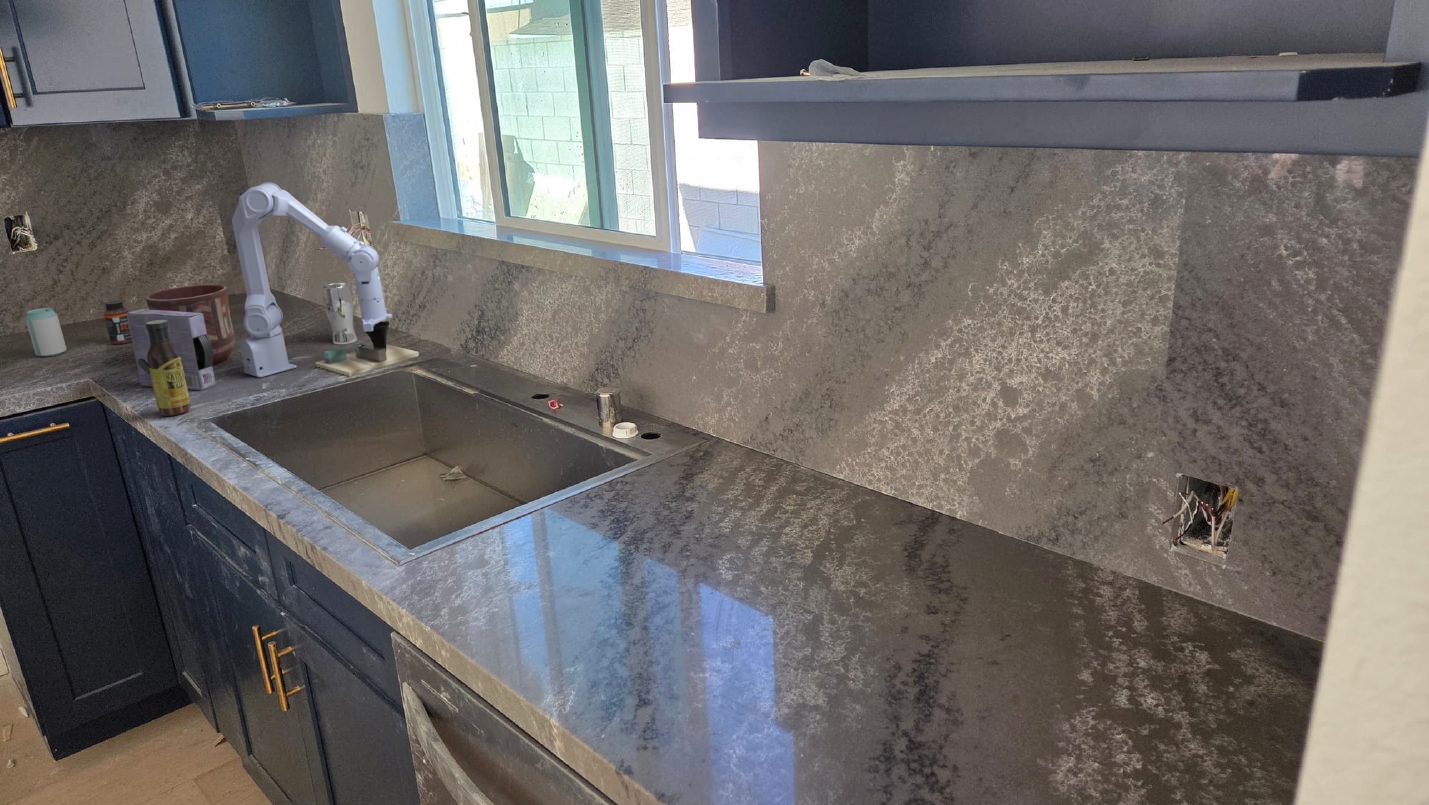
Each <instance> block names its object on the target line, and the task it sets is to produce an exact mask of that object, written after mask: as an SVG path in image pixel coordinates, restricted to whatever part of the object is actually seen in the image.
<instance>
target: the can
mask: <svg viewBox="0 0 1429 805" xmlns="http://www.w3.org/2000/svg"><path fill="white" fill-rule="evenodd" d="M26 314H27V315H26V317H25V322H26V325H27V329H28V333H29V337H30V338H31V339H30V340H31V343H32V346H33V349H34V354H35V355H36V356H37V357H40V356H52V357H56V356H55V355H57V356H59V355H58V354H60V355H62V354H61V353H63V352H64V353H65V352H66V351H67V346H66V342H65V338H64V334H63V331H62V327H61V324H60V321H59V317H58V313H57V312H55V311H54V308H53V307H42V308H35V309H32V310H28V311H27V312H26ZM64 353H63V354H64Z"/></svg>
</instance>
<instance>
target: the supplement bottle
mask: <svg viewBox="0 0 1429 805" xmlns="http://www.w3.org/2000/svg"><path fill="white" fill-rule="evenodd" d="M104 306H105V308H106V309H105V311H104V312H103V316H104V317H103V318H104V322H105V325H106V330H107V333H108V334H107V335H108V337H109V341H110V344H112V345H124V344H125V345H126V344H129V343H133V342H132V337H131V332H130V327H129V323H128V317H127V313H128V312H129V309H128V308H126V307H124V304H123V301H122V300H110V301H107V302H105V303H104Z"/></svg>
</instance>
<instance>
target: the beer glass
mask: <svg viewBox="0 0 1429 805" xmlns="http://www.w3.org/2000/svg"><path fill="white" fill-rule="evenodd" d="M321 291H322V300H323V305H324V306H323V307H324V310H325V313H326V315H327V318H328V321H329V324H330V326H331V330H332V331H331V332H332V343H333V345H348V344H352V343H355V342H357V341H358V337H357V335H356V332H355V328H354V320H353V319H354V305H353V304H354V303H353V297H352V293H351V289H350V286H349V283H348V282H335V283H334V282H333V283H328V284H325V285H322V286H321Z"/></svg>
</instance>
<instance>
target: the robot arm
mask: <svg viewBox="0 0 1429 805" xmlns="http://www.w3.org/2000/svg"><path fill="white" fill-rule="evenodd" d="M271 213H272V216H277V217H278V216H279V217H289V218H291V219H292V220H294V221H295V222H296V223H298V224H300V225H301V226H303V227H304V228H306V230H307V229H308V230H309V231H310V232H312V233H313V234H315V235H317V236H319V239H320V242H321V245H322V246H323V247H324V248H326V249H327V250H328V251H330V252H331V253H333V254H334V255H336V256H337V257H338V258H339V259H341V260H342V261H343V262H345V263H347V265H348V267H349V269H350V271H351V272H352V273H353V275H354V282H355V287H356V288H355V289H356V293H357V299H358V304H359V309H360V315H361V319H360V320H361V322H362V329H363V332H364V333H366V335H367V336H368V337H369V339H370V341H371V343H372V346H376V347H381V348H385V351H386V344H387V336H388V331H389V326H390V322H389V321H388V320H386V319H391V318H392V317H393V314H392V313H387V309H386V304H385V299H384V293H383V291H384V290H383V287H382V286H383V285H382V281H381V276H380V272H379V267H378V266H377V265H378V264H379V260H380V257H379V253H378V252H377V251H376V250H375V248H374V247H373V246H371V245H368V244H365V242H364V241H362V240H358V239H356V238H355V237H354V236H352V235H351V234H350V233H348V232H347V231H348V228H346V227H345V226H342V227H340V226H338V225H329V224H327V223H326V222H325V221H323V220H322V219H321V218H320V217H318V216H317V215H316V214H315V213H314V212H312V211H311V209H309V208H307V207H306V206H305V205H304V204H303V203H301V202H300V201H299V200H298V199H296V198H295V197H294V196H293V195H291V193H290V192H288V191H287V190H284V189H281V187H280V186H279V185H278V184H276V183H274V182H270V181H269V182H263V183H261V184H260V185H257V186H253V187H250V188H248V189H247V190H246V191H245V192H244V193H243V194H241V195H240V196H239V199H238V204H237V206H236V208H235V211H234V213H233V215H232V219H231V224H232V230H233V233H234V238H235V239H234V240H235V243H236V248H237V253H238V259H239V263H240V268H241V273H242V278H243V283H244V284H243V285H244V288H245V294H246V299H245V303H244V311H245V313H244V318H243V322H242V323H243V327H244V329H245V331H246V333H248V335H249V337H247V338H245V339H242V340H241V341H240V344H239V345H240V346H239V348H240V354H241V358H242V363H243V367H244V370H243V373H245V374H248V375H250V376H253V377H257V378H264V377H266V376H271V375H274V374H278V373H281V372H284V371H289V370H293V369H296V368H297V364H292V363H289V357H288V353H287V348H286V347H287V346H286V343H285V342H286V341H285V338H284V332H283V329H282V327H281V326H280V324H281V323H282V322H283V316H284V315H283V311H282V310H281V308H280V307H279V306H278V303H277V300H276V297H275V295H274V294H272V292H271V288H270V282H269V277H268V276H269V275H268V272H267V267H266V266H267V265H266V262H265V256H264V251H263V246H262V241H261V237H260V231H259V225H260V224H261V222H262V221H264V219H266V217H267V216H268V215H269V214H271ZM385 320H386V321H385Z"/></svg>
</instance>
